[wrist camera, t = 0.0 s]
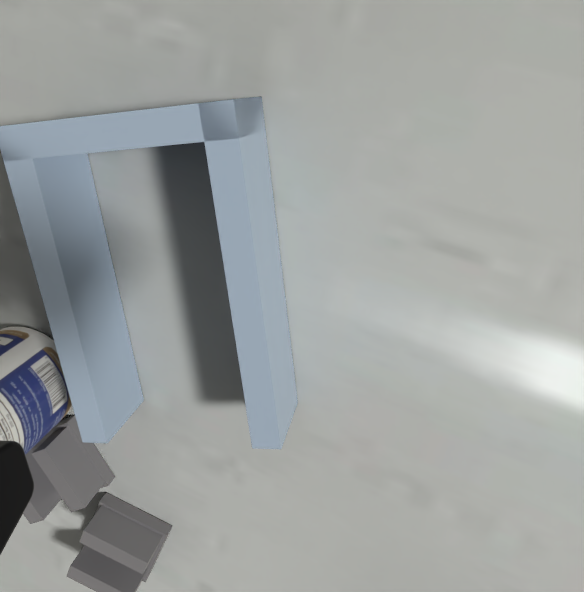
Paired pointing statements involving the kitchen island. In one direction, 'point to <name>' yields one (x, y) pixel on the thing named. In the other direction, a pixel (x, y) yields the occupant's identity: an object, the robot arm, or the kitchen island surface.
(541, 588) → the kitchen island surface
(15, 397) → the pill bottle
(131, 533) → the clip
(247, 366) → the end holder
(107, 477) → the clip
